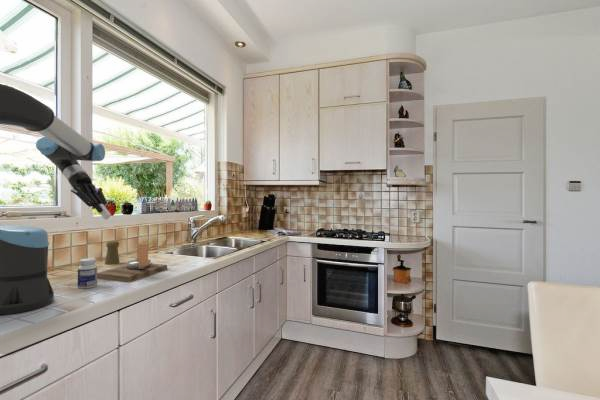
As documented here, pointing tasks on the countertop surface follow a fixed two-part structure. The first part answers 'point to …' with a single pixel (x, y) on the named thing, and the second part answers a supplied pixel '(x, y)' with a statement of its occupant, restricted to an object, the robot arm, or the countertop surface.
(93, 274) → the pill bottle
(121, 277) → the wooden board
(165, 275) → the countertop surface
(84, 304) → the countertop surface
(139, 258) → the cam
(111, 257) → the olive flared column
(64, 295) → the countertop surface
